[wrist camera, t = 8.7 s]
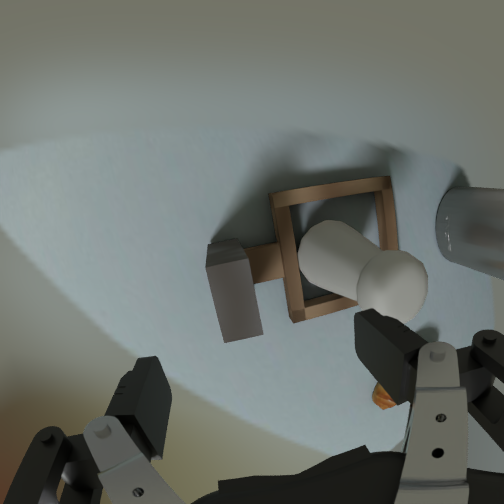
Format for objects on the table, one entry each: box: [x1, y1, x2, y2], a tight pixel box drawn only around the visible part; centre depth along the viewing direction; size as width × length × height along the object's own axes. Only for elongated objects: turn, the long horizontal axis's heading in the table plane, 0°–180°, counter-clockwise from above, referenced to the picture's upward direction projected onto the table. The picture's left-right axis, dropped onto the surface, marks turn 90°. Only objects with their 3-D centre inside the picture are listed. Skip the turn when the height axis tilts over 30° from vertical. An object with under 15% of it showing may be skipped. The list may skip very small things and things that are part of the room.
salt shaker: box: [297, 220, 428, 324], centre depth 19 cm, size 6×6×13 cm
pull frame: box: [206, 176, 398, 343], centre depth 21 cm, size 17×11×8 cm, turn 101°
